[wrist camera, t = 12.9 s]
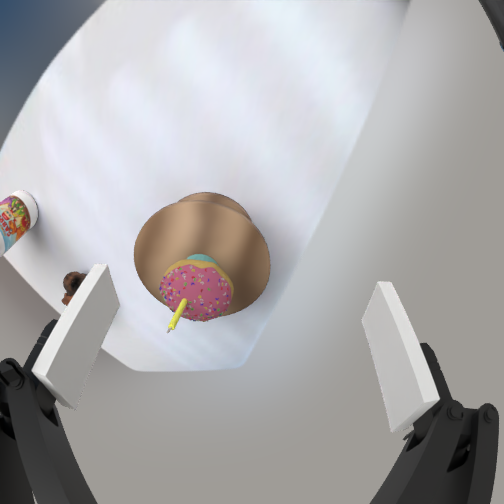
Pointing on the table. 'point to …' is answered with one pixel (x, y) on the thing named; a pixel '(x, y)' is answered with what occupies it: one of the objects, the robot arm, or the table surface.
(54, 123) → the table surface
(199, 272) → the cupcake
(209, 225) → the cake stand
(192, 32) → the table surface
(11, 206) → the milk bottle
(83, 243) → the table surface
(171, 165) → the table surface
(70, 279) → the broken pottery fragment
